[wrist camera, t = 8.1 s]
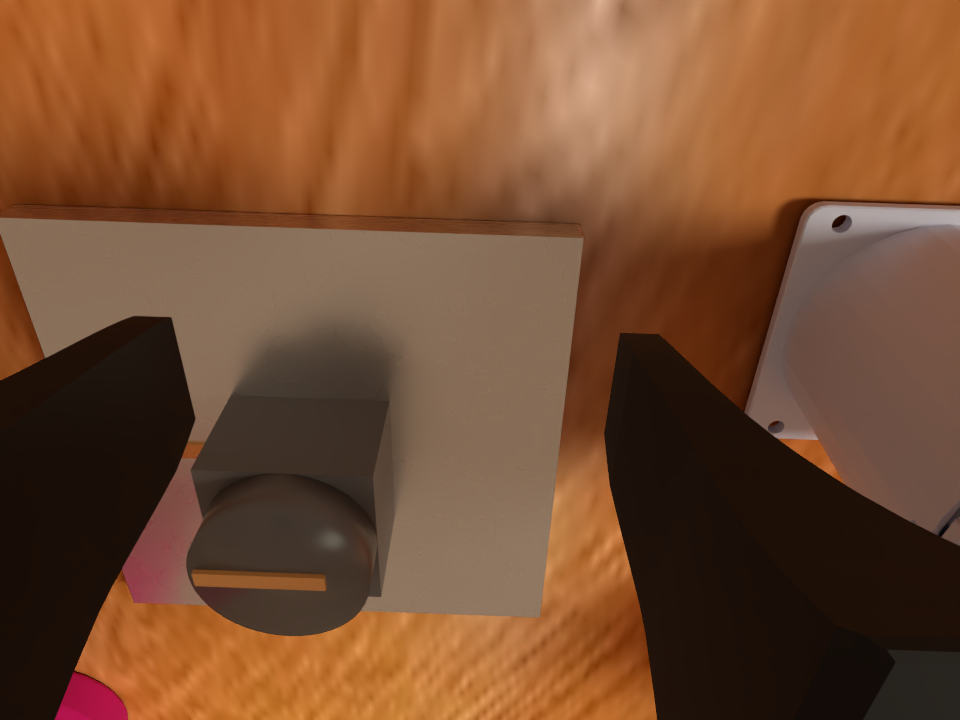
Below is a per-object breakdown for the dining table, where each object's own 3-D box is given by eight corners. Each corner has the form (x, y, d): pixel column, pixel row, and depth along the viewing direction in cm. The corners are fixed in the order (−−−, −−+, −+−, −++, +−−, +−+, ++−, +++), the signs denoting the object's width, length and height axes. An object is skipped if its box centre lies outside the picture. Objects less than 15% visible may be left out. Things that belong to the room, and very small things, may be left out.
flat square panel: (580, 223, 20) (594, 279, 17) (538, 596, 29) (543, 675, 26) (15, 204, 20) (-68, 256, 17) (144, 582, 29) (104, 659, 26)
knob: (389, 401, 22) (363, 521, 18) (395, 515, 25) (373, 643, 21) (231, 395, 22) (166, 513, 18) (253, 510, 25) (202, 637, 21)
